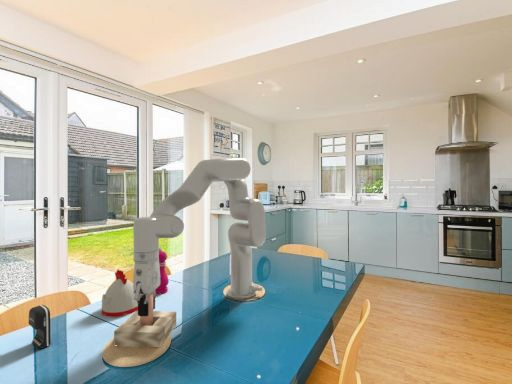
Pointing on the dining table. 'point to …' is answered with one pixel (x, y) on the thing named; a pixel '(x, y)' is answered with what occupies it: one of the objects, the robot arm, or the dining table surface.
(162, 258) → the pepper mill
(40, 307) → the black coffee maker
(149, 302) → the peg
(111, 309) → the white dome
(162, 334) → the socket block
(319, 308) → the dining table surface
